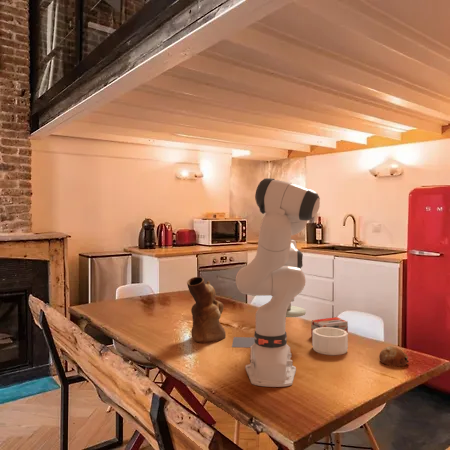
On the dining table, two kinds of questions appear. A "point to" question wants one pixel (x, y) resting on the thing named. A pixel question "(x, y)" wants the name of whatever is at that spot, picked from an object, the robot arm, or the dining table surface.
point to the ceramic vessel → (205, 312)
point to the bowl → (330, 341)
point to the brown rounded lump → (393, 356)
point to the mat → (243, 342)
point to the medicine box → (329, 324)
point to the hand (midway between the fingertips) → (287, 307)
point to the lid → (295, 311)
